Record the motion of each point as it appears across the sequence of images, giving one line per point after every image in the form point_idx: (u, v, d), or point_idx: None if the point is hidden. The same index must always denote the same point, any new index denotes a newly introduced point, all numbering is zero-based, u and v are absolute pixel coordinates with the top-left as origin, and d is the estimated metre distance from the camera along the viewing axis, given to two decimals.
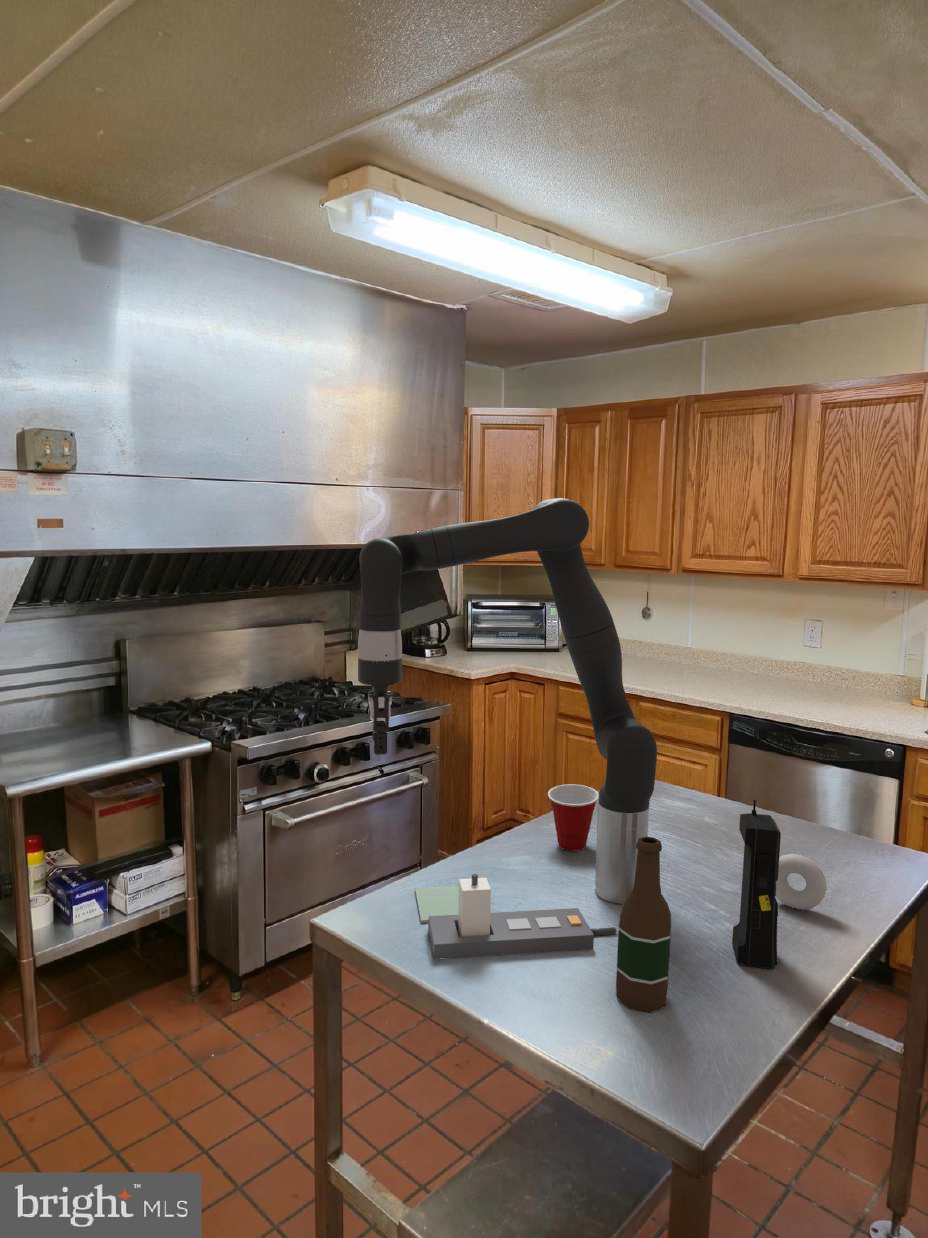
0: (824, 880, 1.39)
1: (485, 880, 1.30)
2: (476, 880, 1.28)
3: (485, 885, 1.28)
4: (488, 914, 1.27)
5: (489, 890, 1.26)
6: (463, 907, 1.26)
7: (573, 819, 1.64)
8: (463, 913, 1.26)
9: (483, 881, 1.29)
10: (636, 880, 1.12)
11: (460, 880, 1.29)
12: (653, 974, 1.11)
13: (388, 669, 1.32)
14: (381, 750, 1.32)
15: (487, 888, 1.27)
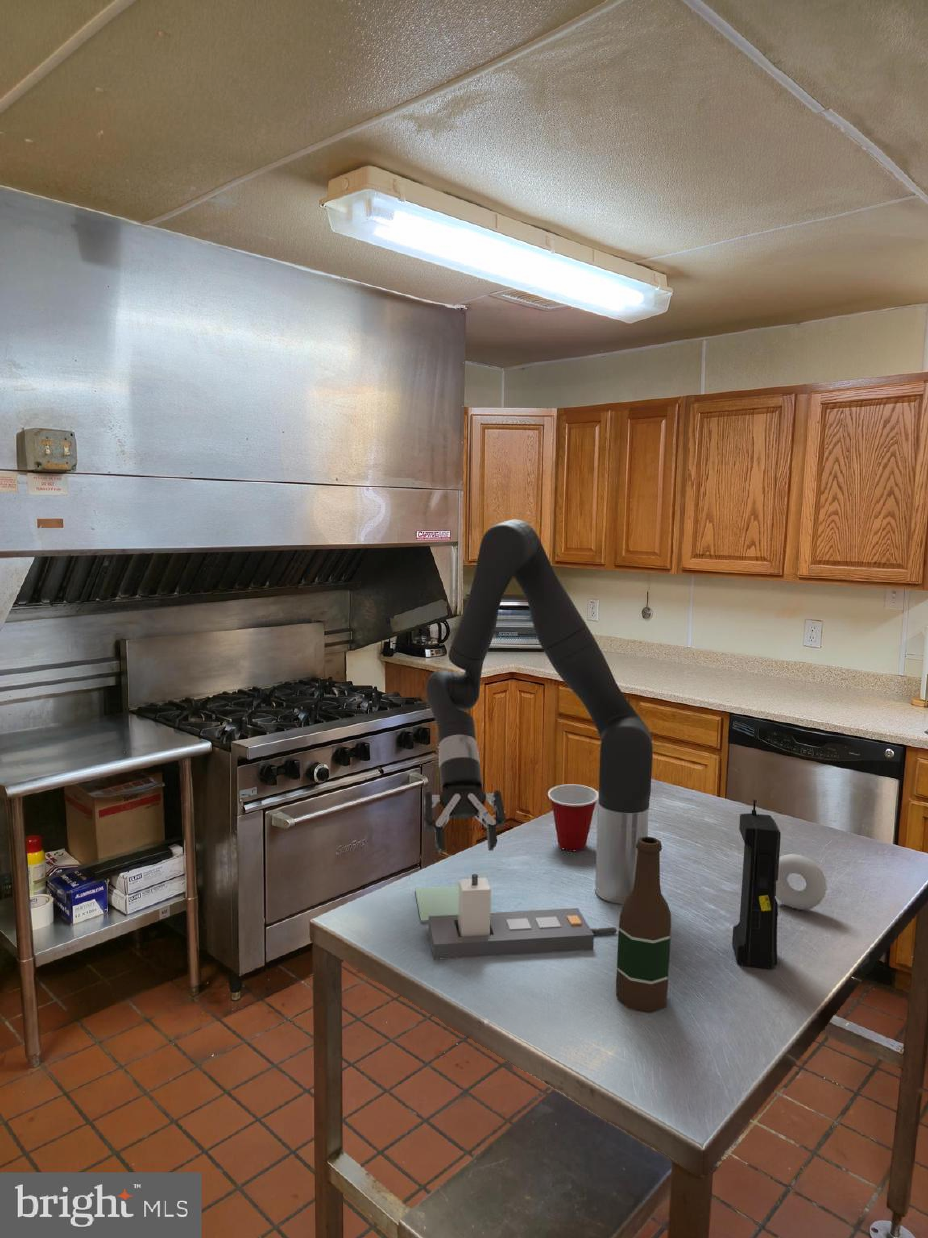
0: (824, 880, 1.39)
1: (485, 880, 1.30)
2: (476, 880, 1.28)
3: (485, 885, 1.28)
4: (488, 914, 1.27)
5: (489, 890, 1.26)
6: (463, 907, 1.26)
7: (573, 819, 1.64)
8: (463, 913, 1.26)
9: (483, 881, 1.29)
10: (636, 880, 1.12)
11: (460, 880, 1.29)
12: (653, 974, 1.11)
13: (442, 771, 1.43)
14: (436, 845, 1.35)
15: (487, 888, 1.27)
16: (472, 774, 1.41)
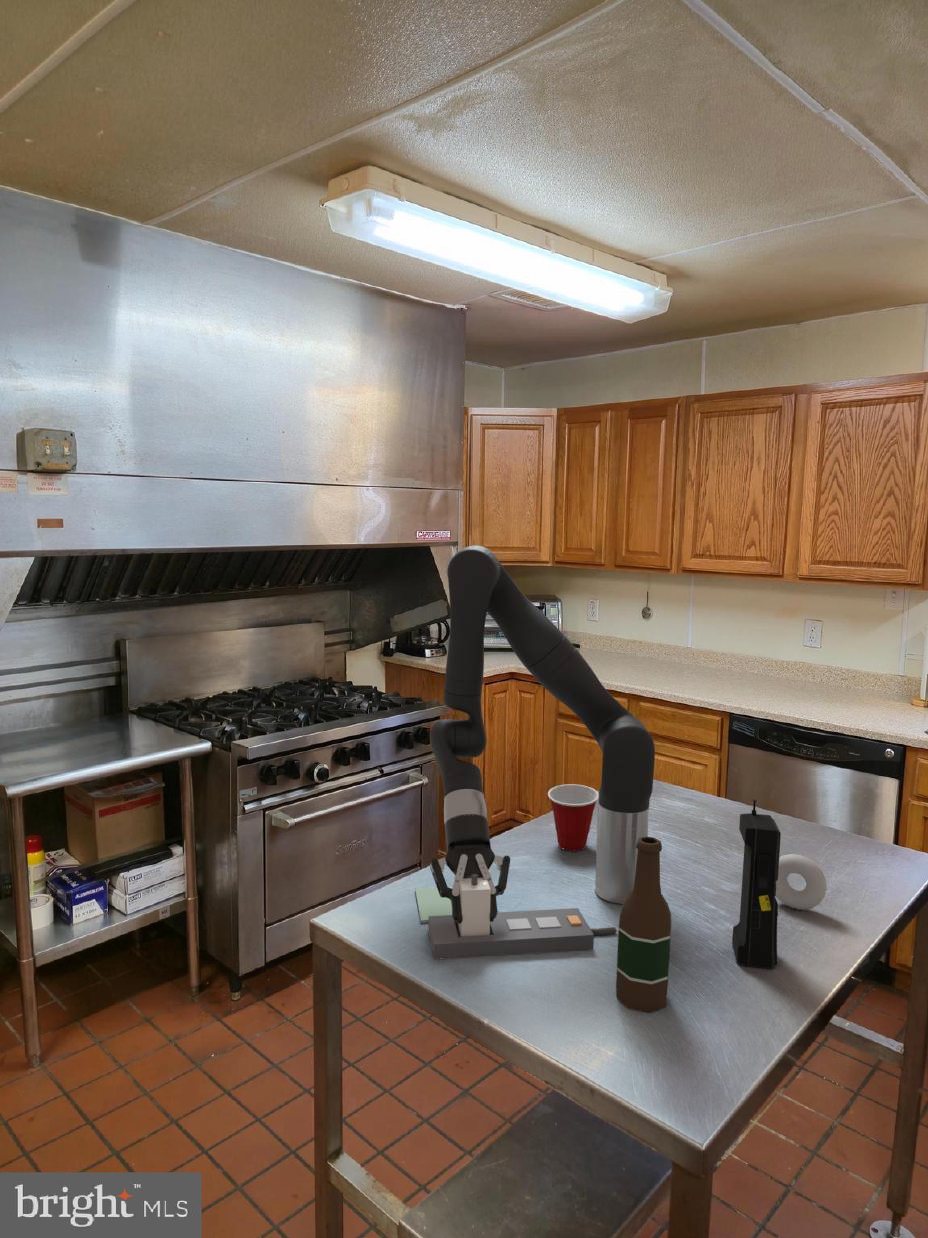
0: (824, 880, 1.39)
1: (485, 880, 1.30)
2: (476, 880, 1.28)
3: (484, 885, 1.28)
4: (488, 914, 1.27)
5: (489, 890, 1.26)
6: (463, 907, 1.26)
7: (573, 819, 1.64)
8: (463, 913, 1.26)
9: (483, 881, 1.29)
10: (636, 880, 1.12)
11: None
12: (653, 974, 1.11)
13: (447, 829, 1.35)
14: (453, 916, 1.27)
15: (487, 888, 1.27)
16: (480, 833, 1.33)
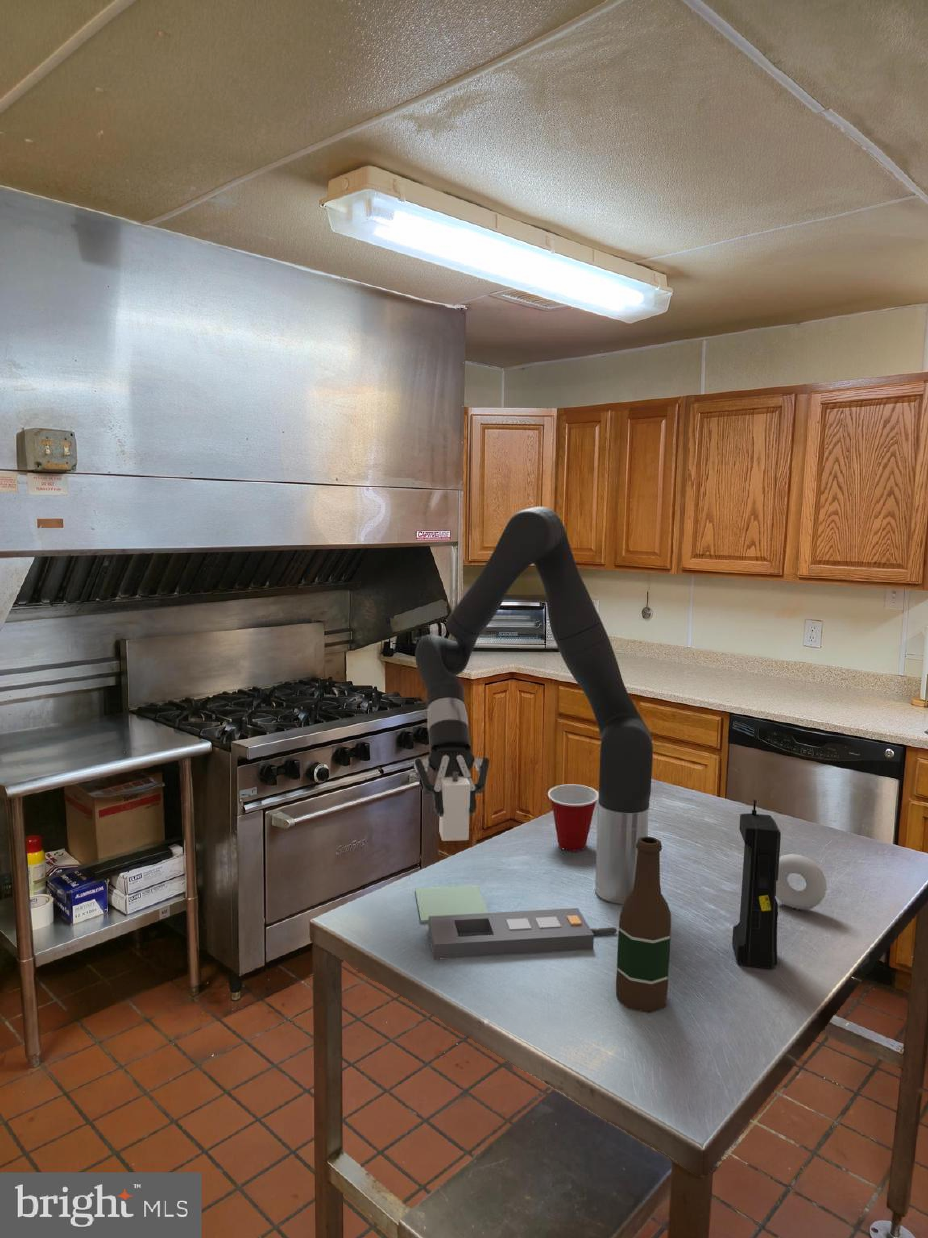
0: (824, 880, 1.39)
1: (465, 778, 1.39)
2: (457, 777, 1.37)
3: (465, 781, 1.37)
4: (467, 808, 1.36)
5: (469, 785, 1.36)
6: (444, 800, 1.35)
7: (573, 819, 1.64)
8: (444, 806, 1.35)
9: (463, 779, 1.38)
10: (636, 880, 1.12)
11: None
12: (653, 974, 1.11)
13: (430, 733, 1.44)
14: (435, 809, 1.36)
15: (467, 783, 1.36)
16: (461, 736, 1.42)
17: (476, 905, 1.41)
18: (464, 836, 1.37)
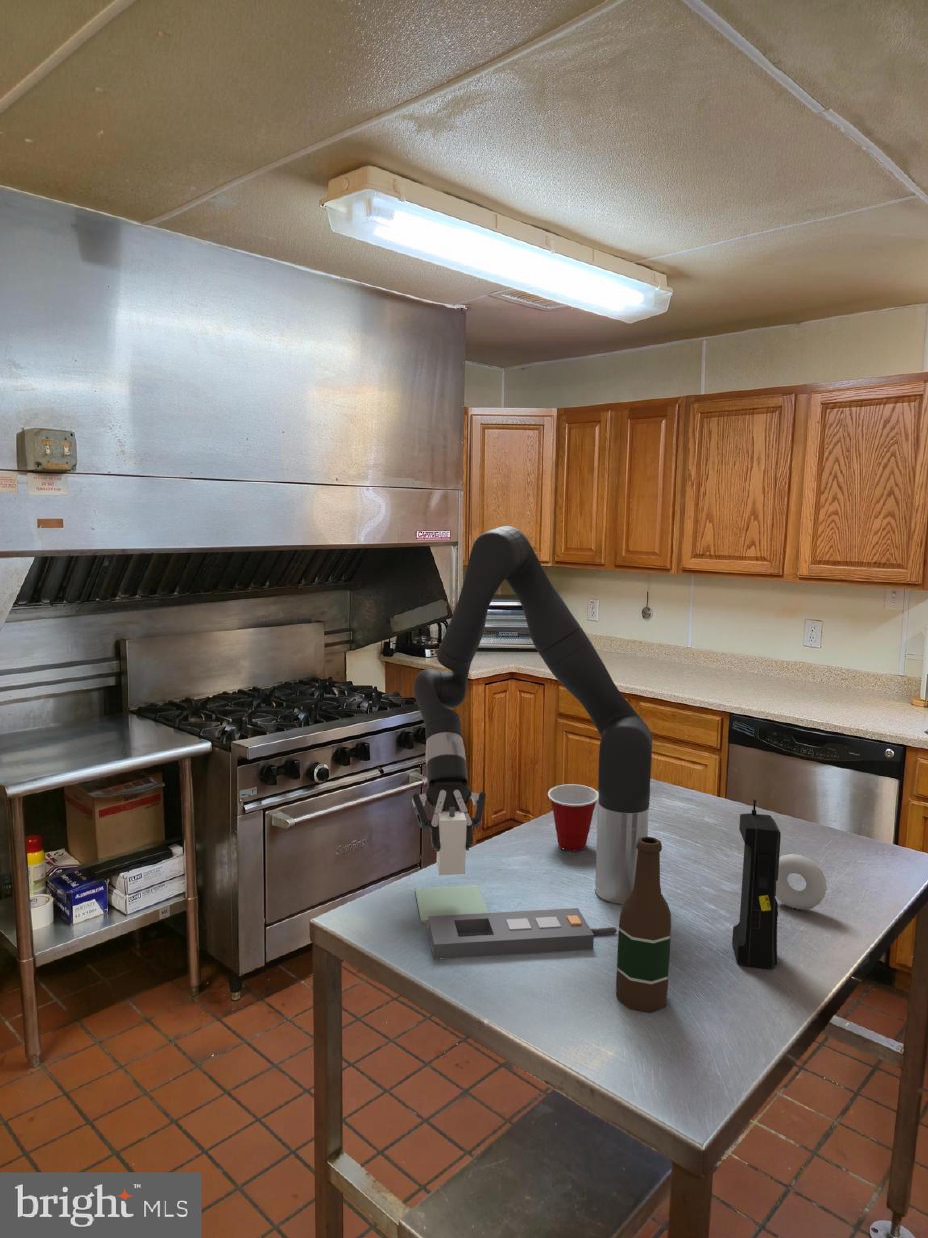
0: (824, 880, 1.39)
1: (461, 813, 1.41)
2: (453, 812, 1.39)
3: (461, 817, 1.39)
4: (464, 843, 1.39)
5: (465, 820, 1.38)
6: (441, 836, 1.38)
7: (573, 819, 1.64)
8: (441, 841, 1.38)
9: (460, 813, 1.41)
10: (636, 880, 1.12)
11: None
12: (653, 974, 1.11)
13: (428, 768, 1.46)
14: (432, 844, 1.39)
15: (463, 819, 1.38)
16: (458, 771, 1.44)
17: (476, 905, 1.41)
18: (461, 870, 1.39)
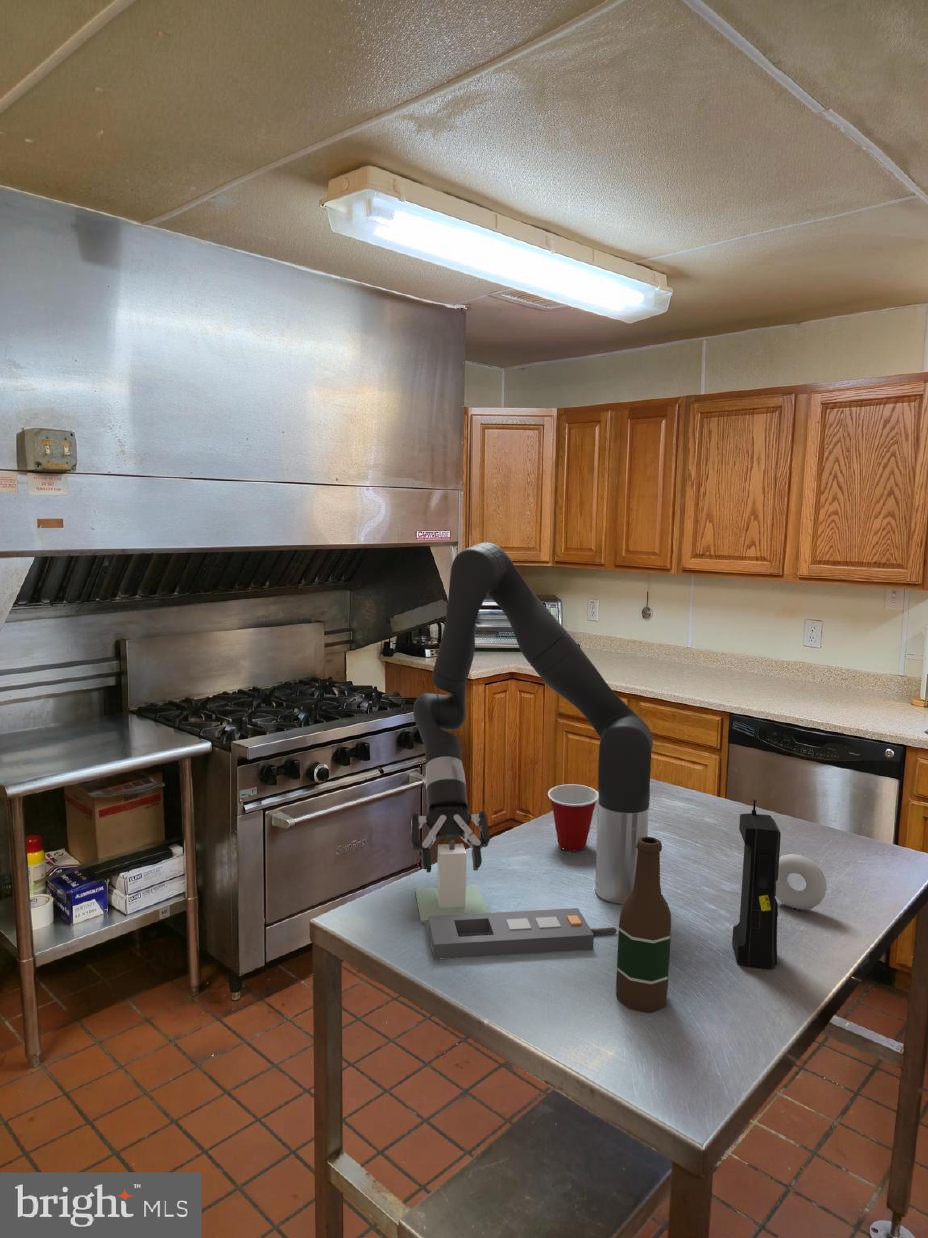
0: (824, 880, 1.39)
1: (461, 845, 1.42)
2: (453, 845, 1.40)
3: (461, 850, 1.40)
4: (464, 876, 1.39)
5: (465, 854, 1.39)
6: (441, 869, 1.39)
7: (573, 819, 1.64)
8: (441, 875, 1.39)
9: (460, 846, 1.42)
10: (636, 880, 1.12)
11: (439, 845, 1.42)
12: (653, 974, 1.11)
13: (428, 792, 1.47)
14: (423, 865, 1.39)
15: (463, 852, 1.39)
16: (458, 796, 1.45)
17: (476, 905, 1.41)
18: (461, 903, 1.40)
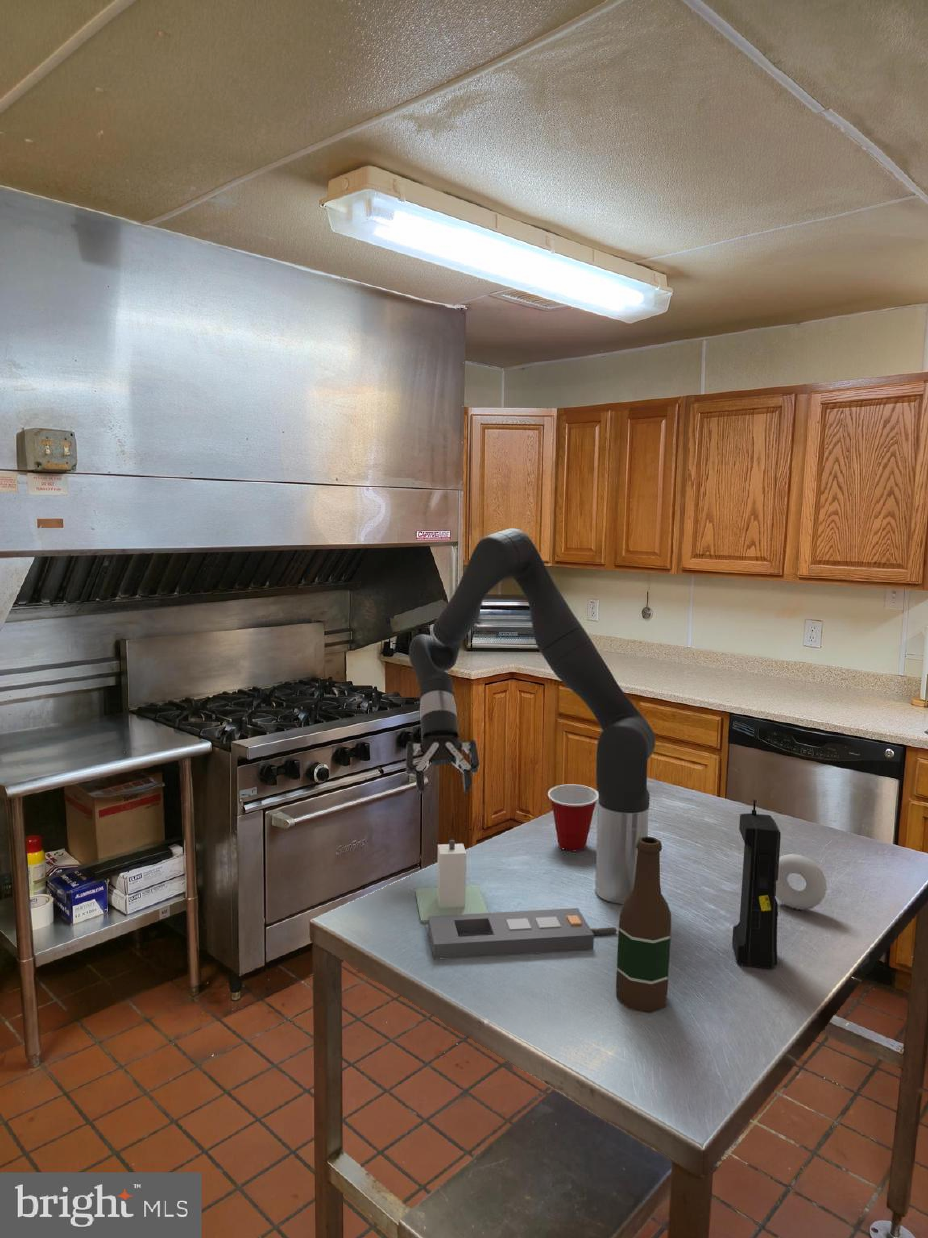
0: (824, 880, 1.39)
1: (461, 845, 1.42)
2: (453, 845, 1.40)
3: (461, 850, 1.40)
4: (464, 876, 1.39)
5: (465, 854, 1.39)
6: (441, 869, 1.39)
7: (573, 819, 1.64)
8: (441, 875, 1.39)
9: (460, 846, 1.42)
10: (636, 880, 1.12)
11: (439, 845, 1.42)
12: (653, 974, 1.11)
13: (422, 723, 1.58)
14: (417, 787, 1.51)
15: (463, 852, 1.39)
16: (449, 725, 1.56)
17: (476, 905, 1.41)
18: (461, 903, 1.40)
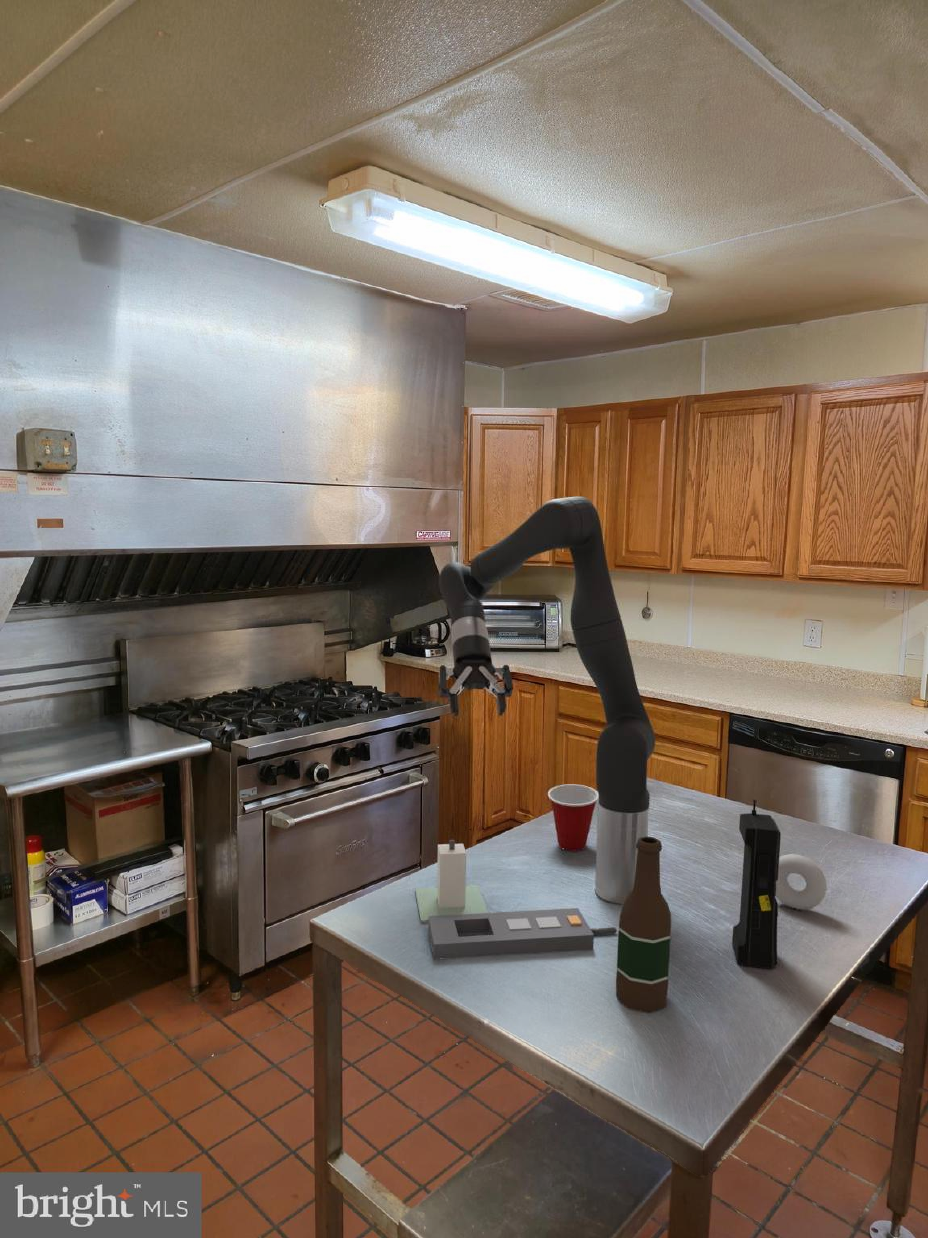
0: (824, 880, 1.39)
1: (461, 845, 1.42)
2: (453, 845, 1.40)
3: (461, 850, 1.40)
4: (464, 876, 1.39)
5: (465, 854, 1.39)
6: (441, 869, 1.39)
7: (573, 819, 1.64)
8: (441, 875, 1.39)
9: (460, 846, 1.42)
10: (636, 880, 1.12)
11: (439, 845, 1.42)
12: (653, 974, 1.11)
13: (454, 648, 1.56)
14: (450, 709, 1.48)
15: (463, 852, 1.39)
16: (483, 649, 1.54)
17: (476, 905, 1.41)
18: (461, 903, 1.40)
